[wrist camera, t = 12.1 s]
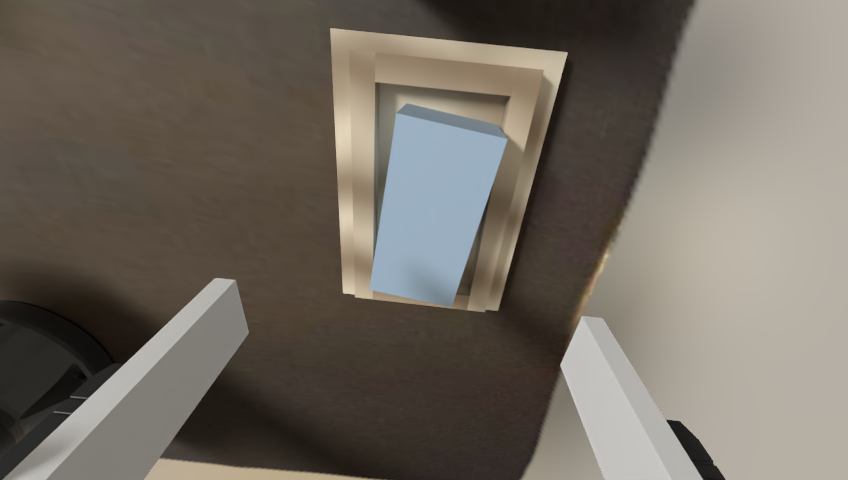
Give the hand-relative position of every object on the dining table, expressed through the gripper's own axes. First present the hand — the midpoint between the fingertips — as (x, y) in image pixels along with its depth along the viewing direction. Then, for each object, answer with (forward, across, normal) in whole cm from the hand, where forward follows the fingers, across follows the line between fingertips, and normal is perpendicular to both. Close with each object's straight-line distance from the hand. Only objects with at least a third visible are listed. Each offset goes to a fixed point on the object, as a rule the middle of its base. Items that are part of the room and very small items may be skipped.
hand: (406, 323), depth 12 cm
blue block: (+13, -1, 0) cm, 13 cm away
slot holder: (+14, -1, 0) cm, 14 cm away
